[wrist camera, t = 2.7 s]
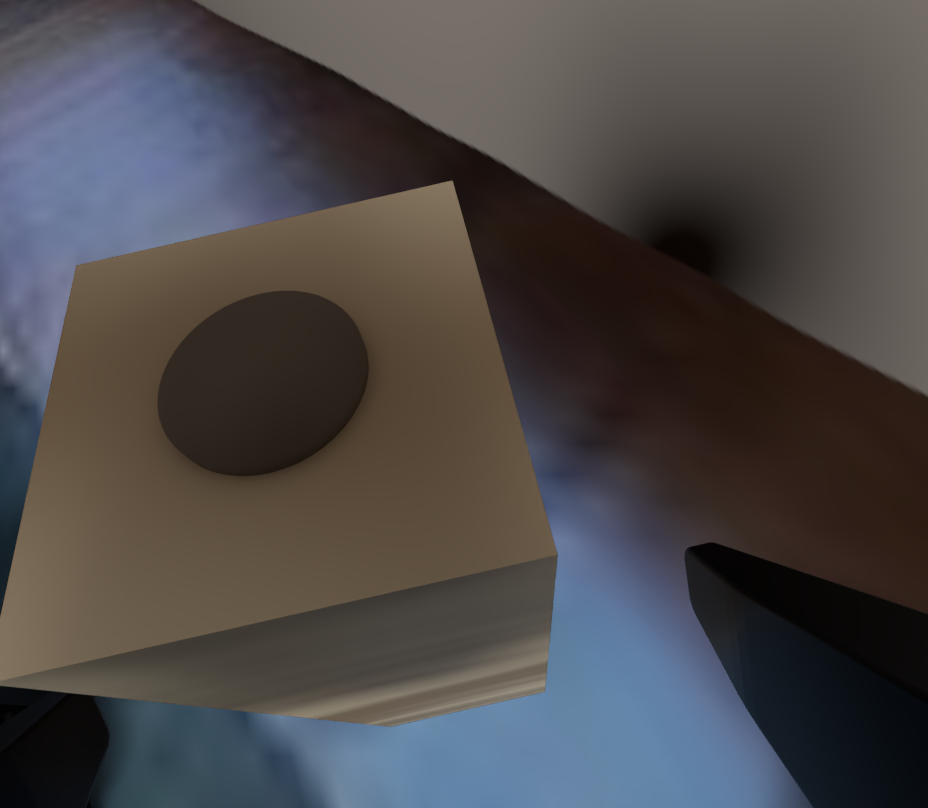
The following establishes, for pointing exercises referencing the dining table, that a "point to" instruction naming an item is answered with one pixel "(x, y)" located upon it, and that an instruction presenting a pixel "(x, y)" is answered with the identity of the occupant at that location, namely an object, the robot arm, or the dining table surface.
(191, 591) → the maple block
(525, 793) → the dining table surface
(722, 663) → the robot arm
